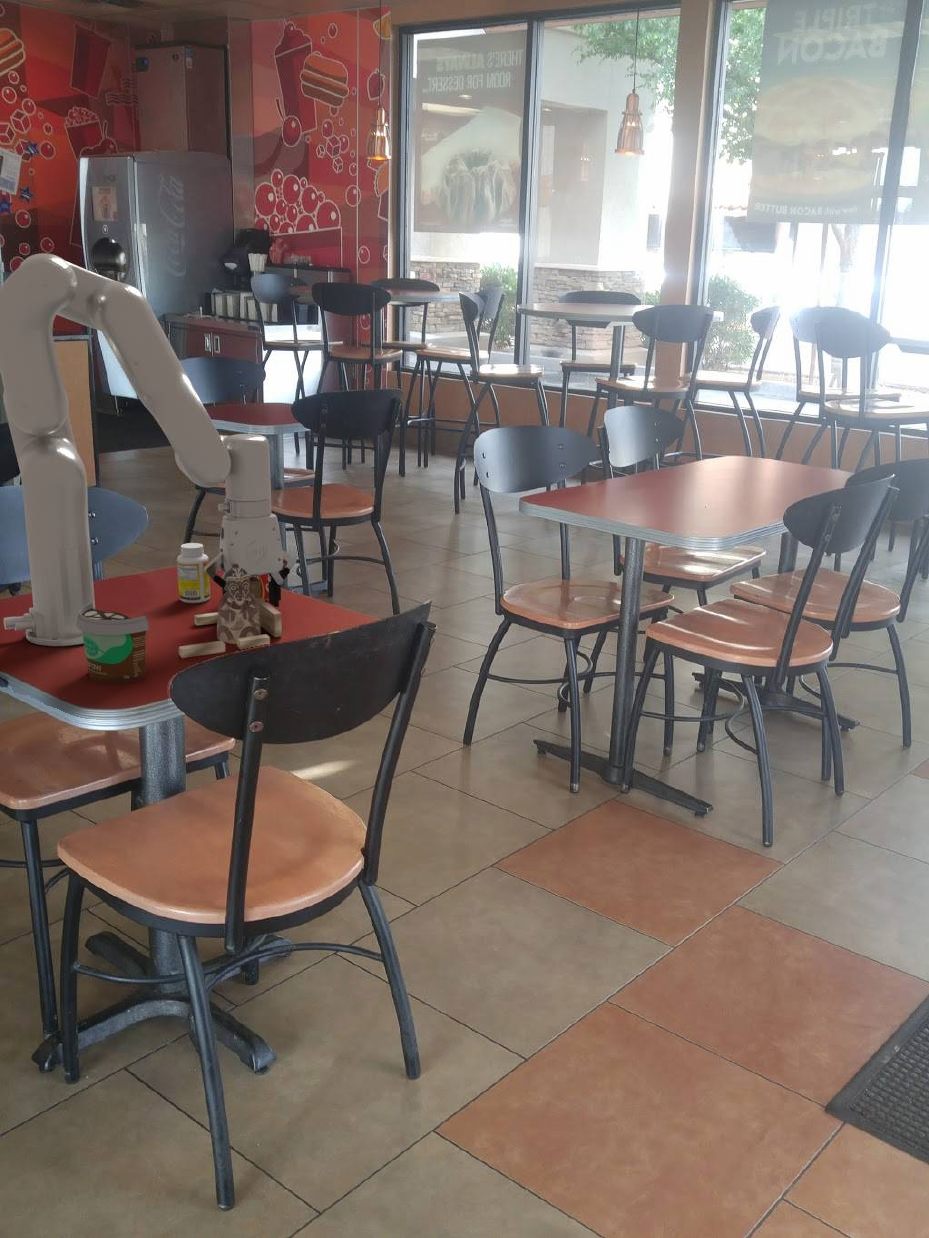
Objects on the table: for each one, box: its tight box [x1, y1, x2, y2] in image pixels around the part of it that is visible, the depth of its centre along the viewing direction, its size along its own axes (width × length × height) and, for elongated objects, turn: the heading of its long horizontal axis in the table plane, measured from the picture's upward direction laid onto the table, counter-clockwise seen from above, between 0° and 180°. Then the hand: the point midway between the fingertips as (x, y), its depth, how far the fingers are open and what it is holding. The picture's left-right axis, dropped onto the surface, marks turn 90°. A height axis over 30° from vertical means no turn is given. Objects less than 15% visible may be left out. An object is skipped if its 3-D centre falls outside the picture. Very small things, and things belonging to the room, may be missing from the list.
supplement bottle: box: [176, 542, 211, 604], centre depth 213 cm, size 6×6×10 cm
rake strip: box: [193, 576, 283, 638], centre depth 198 cm, size 11×15×7 cm
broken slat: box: [178, 633, 271, 659], centre depth 188 cm, size 14×2×1 cm, turn 120°
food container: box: [76, 603, 150, 685], centre depth 174 cm, size 12×6×10 cm, turn 58°
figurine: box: [216, 564, 262, 645], centre depth 193 cm, size 7×7×12 cm
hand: (252, 607), depth 205 cm, fingers open, 7 cm apart
